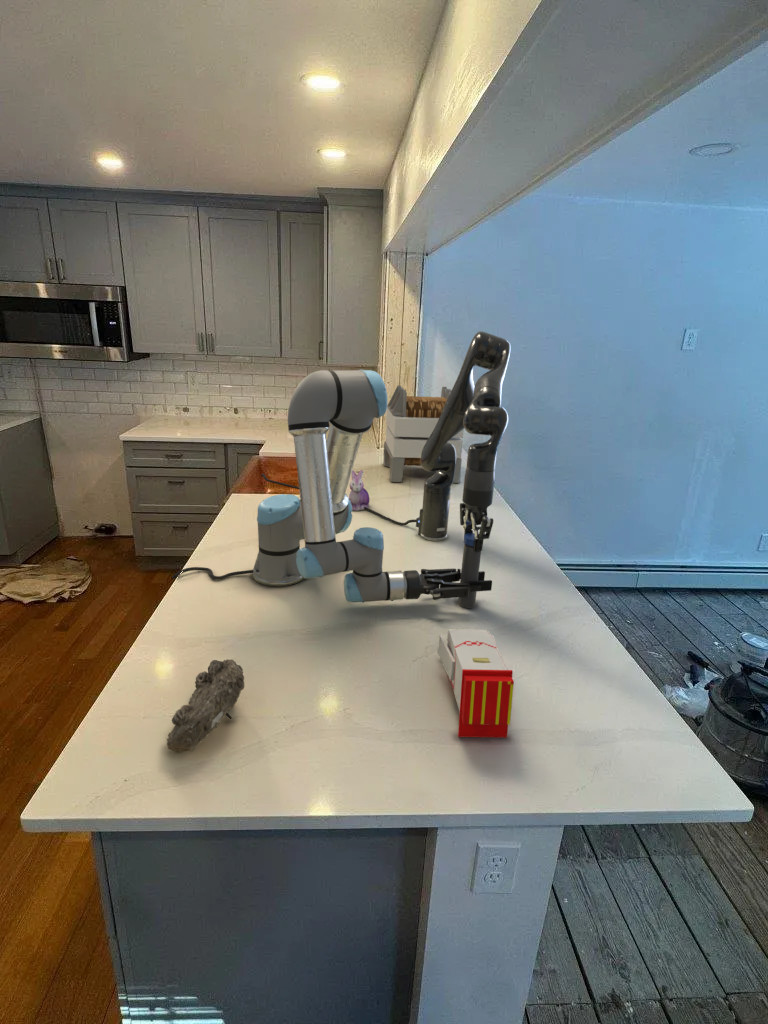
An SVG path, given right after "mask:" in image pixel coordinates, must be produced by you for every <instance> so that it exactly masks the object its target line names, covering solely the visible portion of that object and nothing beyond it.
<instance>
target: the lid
mask: <svg viewBox="0 0 768 1024" xmlns="http://www.w3.org/2000/svg"><path fill="white" fill-rule="evenodd" d="M474 539H475V533H474V532H473V533H467V534H465V535H464V534H463V540H464V542H463V544H464V543H465V544H466V545H469V546H474Z"/></svg>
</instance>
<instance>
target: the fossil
mask: <svg viewBox="0 0 768 1024" xmlns="http://www.w3.org/2000/svg"><path fill="white" fill-rule="evenodd" d="M243 670H244V669H243V667H242V665H240V664H237V662H236V661H235V660H234V659H232V658H231V659H227V658H226V659H224V660H223V661H222V660H217V659H212V660H211V661H210V663H209V665H208V666H207V671H201V672H199V673H198V674H197V675H196V676H195V680H194V684H195V685H194V687H195V689H194V690H193V693H192V694H191V697H190V698H189V700H188V704H184V705H182V706H181V707H180V709H177V710H176V711H175V713H174V715H173V716H172V718H171V723H172V724H173V727H172V730H171V731H170V732H168V734H167V738H166V741H167V742H166V745H167V749H168V750H169V751H173V752H174V753H176V754H178V753H182V752H188V751H189V752H192V751H193V750H195V748H196V747H197V746H199V744H200V743H201V742H203V741H204V740H205V739H206V738H207V737H208V736H209V735H210V734H211V733H212V732H214V730H215V729H217V727H218V726H219V724H220V722H221V721H222V720H223V719H224V718H225V716H226V717H227V719H229V720H233V717H232V715H230V714H229V710H230V709H231V708H234V706H235V704H236V703H237V702H238V699H239V697H240V695H241V693H242V691H243V690H245V689H244V688H245V675H244V671H243Z"/></svg>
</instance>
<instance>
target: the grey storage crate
mask: <svg viewBox="0 0 768 1024" xmlns="http://www.w3.org/2000/svg"><path fill="white" fill-rule="evenodd" d="M451 390H452V389H451V388H447V386H442V387H441V392H440V393H441V394H440V396H415V395H414V396H413V395H412V396H411V395H407V394H408V393H407V390H406V389H404V388H403V387H402V385H399V384H398V385H397V386H396V388H395V390H394V392H393V394H392V395H391V398H390V400H389V402H387V410H386V412H385V414H386V415H385V423H386V428H385V438H384V442H383V466H384V467H388V468H389V475H388V476H389V477H388V478H389V480H390V482H391V483H402V482H403V475H404V469H405V466H406V467H407V466H411V467H412V466H413V467H415V466H416V467H417V466H418V467H422V466H421V461H420V458H421V452H422V449H423V447H424V445H425V443H426V442H427V440H428V438H429V437H430V435H431V433H432V432H433V430H434V428H435V426H436V424H437V422H438V420H439V417H440V415H441V413H442V410H443V408H444V405H445V403H446V401H447V399H448V397H449V394H450V392H451ZM464 431H465V428H464V429H463V430H462V431H460V432H459V433H458V434H457V435H455V436H454V437H453V438H452V439H450V440H449V441H448V442H447V443H451V444H452V445H453V446H454V448H455V451H456V465H455V472H454V479H453V484H455V483H456V484H459V483H461V472H462V461H463V460H462V453H463V442H464V441H463V440H462V439H463V438H464Z"/></svg>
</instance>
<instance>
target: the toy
mask: <svg viewBox="0 0 768 1024" xmlns="http://www.w3.org/2000/svg"><path fill="white" fill-rule="evenodd" d="M446 640H447V643H446V641H445V639H444V636H443V635H442V634H439V637H438V646H437V656H438V657H439V659H440V661H441V663H442V666H443V668H444V670H445V672H446V674H447V677H448V679H449V681H450V684H451V687H452V690H453V693H454V697H455V701H456V705H457V708H458V711H459V714H458V715H459V716H458V730H457V731H458V732H457V737H458V738H508V731H509V726H510V725H511V717H512V707H513V697H514V696H513V695H514V684H515V680H514V679H513V673H514V671H513V670H512V669H508V667H507V665H506V662H505V661H504V659H503V658H502V655H501V653H500V651H499V649H498V647H497V643H496V639H495V637H494V635H493V634H491V632H490V631H489V629H467V628H466V629H465V628H463V629H461V628H460V629H459V628H448V630H447V639H446Z"/></svg>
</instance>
